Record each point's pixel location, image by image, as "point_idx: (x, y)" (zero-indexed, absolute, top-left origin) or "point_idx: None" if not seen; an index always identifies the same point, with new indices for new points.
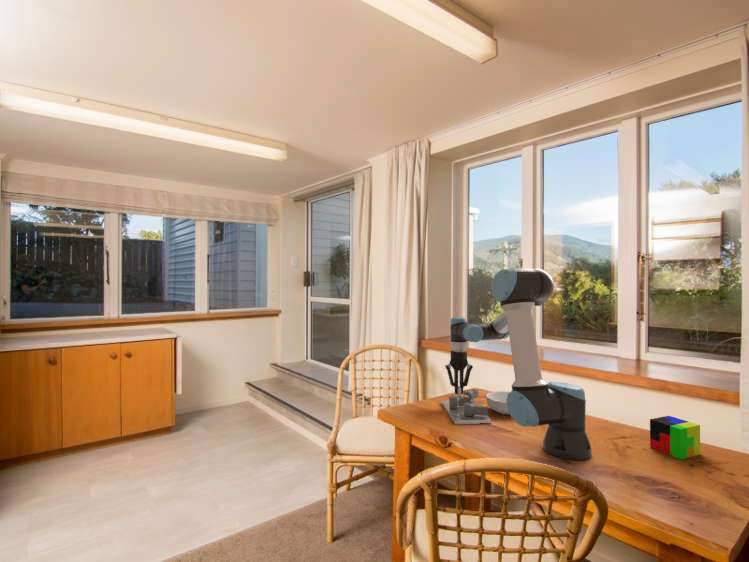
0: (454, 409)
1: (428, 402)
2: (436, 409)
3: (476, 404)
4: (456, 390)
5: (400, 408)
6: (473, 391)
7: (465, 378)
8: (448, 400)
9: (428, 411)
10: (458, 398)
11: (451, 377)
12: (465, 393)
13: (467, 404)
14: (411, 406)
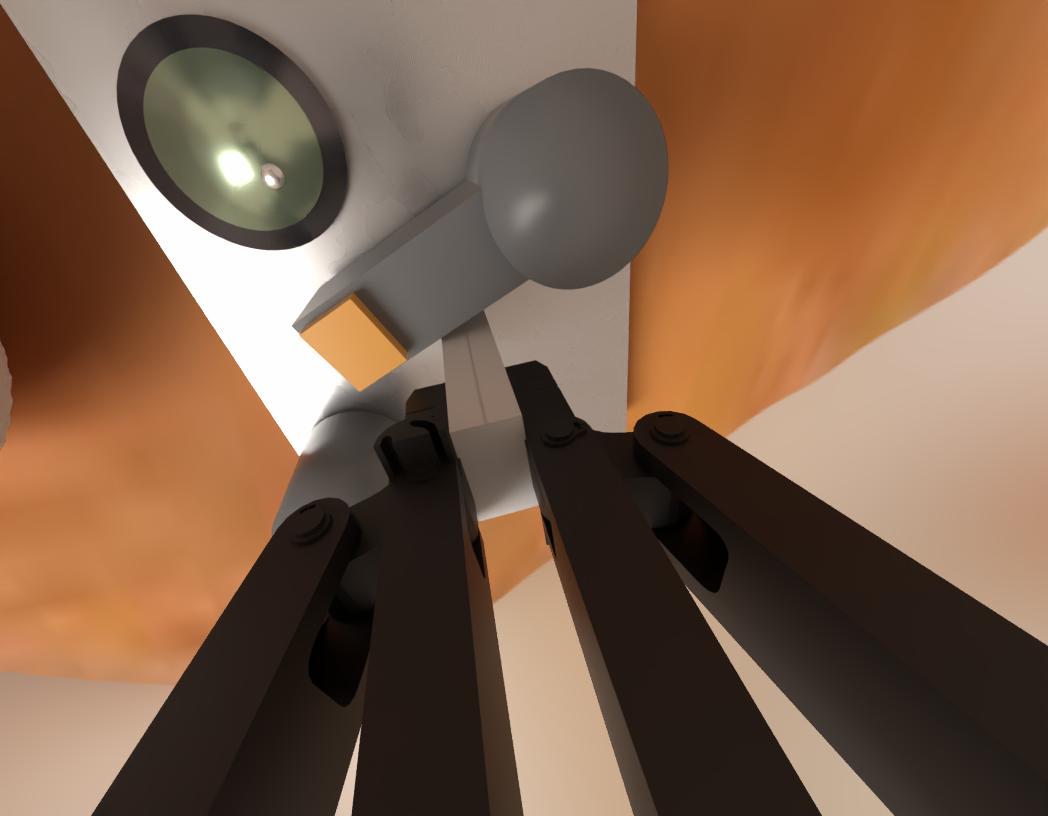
0: None
1: (706, 416)
2: (700, 233)
3: (242, 368)
4: (538, 396)
5: (990, 224)
6: None
7: (295, 758)
8: None
9: (804, 148)
10: (499, 145)
11: (909, 621)
12: (381, 487)
13: None
14: (876, 294)
